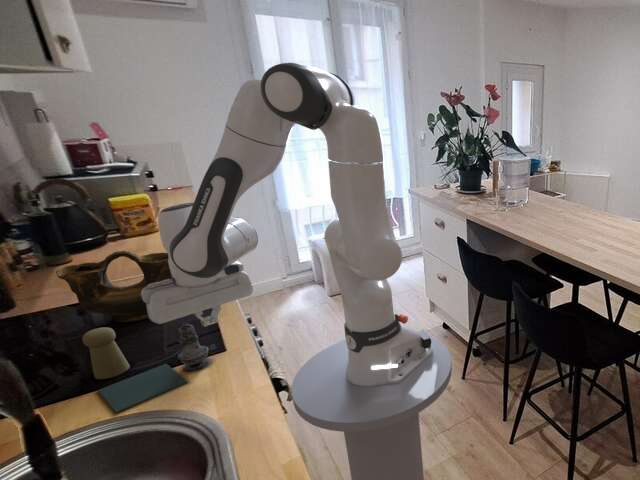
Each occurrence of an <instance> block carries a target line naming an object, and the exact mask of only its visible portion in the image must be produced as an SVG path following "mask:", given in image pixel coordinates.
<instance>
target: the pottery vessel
mask: <svg viewBox="0 0 640 480" xmlns="http://www.w3.org/2000/svg"><path fill="white" fill-rule="evenodd" d="M121 257H125V258H128V259H130V260H131V261H133V262H135V263H136V264H137V265H138V267H139V268H140V270H141V272H142V274H143V278H142V279H141V280H140V281H139V282H137V283H134V284H131V285H125V286H124V285H123V286H119V285H115V284H113V283H112V282H111V280H110V279H109V278H108V268H109V265H110V264H111V263H112V262H113V261H114V260H117V259H119V258H121ZM168 258H169V257H168V253H167V252H154V253H149V254H144V255H141V256H138V254H136V253H132V252H130V251H126V250H120V251H114V252H112V253H110V254H109V255H107V256H106V257H105V258H104V259H103V260H101V261H98V262H84V263H79V264H71V265H66V266H64V267H63V268H61V269H58V270H56V271H55V274H56V276H57V277H58V279H60V280H63V281H65V282H66V283H67V284H68V286H69V288H70V290H71V292H72V293H73V294H75V295H76V298H77V302H78V303H79V305H80V307H81V309H82V310H84V311H86V312H89V313H93V314H99V315H100V314H101V315H106V316H109V317H111V319H113V321H114V322H117V323H132V322H138V321H142V320H146V319H149V316H148V312H147V306H146V303H145V302H144V301H143V300H142V297H141V291H142V290H143V289H144V288H145V287H147V285H148V284H151V283H156V282H160V281H163V280H166V279H170V278H172V275H171V271H170V268H169V264H168ZM147 289H149V288H147Z"/></svg>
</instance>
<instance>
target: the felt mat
mask: <svg viewBox="0 0 640 480" xmlns="http://www.w3.org/2000/svg"><path fill="white" fill-rule="evenodd" d="M188 383H189V382H188V380H187V379H185V378H184V377H183V376H182V375H181V374H179V373H178V372H177V371H176V370H174V369H173V367H171V366H170V365H169V364H168V363H163V364H161V365H158V366H156V367H153V368H151V369H148V370H146V371H144V372H141V373H139V374H136V375H133V376H131V377H127V378H125V379H123V380H120V381H118V382H115V383H113V384H110V385H107V386H105V387H102V388H100V389H97V392H98V393H99V394H100V395H101V397H102V398H103V400H105V401H106V402H107V404H109V406H110V408H112V410H114V412H115V413H116V414H119V413H122V412H124V411H126V410H128V409H131V408H133V407H135V406H138V405H140V404H142V403H144V402H146V401H149V400H152V399H153V398H156V397H158V396H160V395H163V394H165V393H168V392H170V391H172V390H175V389H177V388H179V387H180V386H181V387H182V386H184V385H187V384H188Z"/></svg>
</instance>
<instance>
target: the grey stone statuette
mask: <svg viewBox="0 0 640 480" xmlns="http://www.w3.org/2000/svg"><path fill="white" fill-rule="evenodd" d="M177 330H178V334H179V338H180V340H179V343H180V344H181V346H182V351H181V352H180V353H178V354H177V359H178V360H179V361H180V362H181V363H182V364H183V367H182V371H184V372H185V373H192V372H197V371H200V370H202V369H205V368H207V367H208V366H209V365H210V364H211V363H212V362H211V359H209V358H207V357H208V354H209V347H208V346H205V345H200V342H199V338H200V337H199V335H197V334H196V329H195V327H194V325H193V324H190V323H187V322H185V321H184V322H182V325H181V326H180V327H179V328H178V329H177Z"/></svg>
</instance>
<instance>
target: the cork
mask: <svg viewBox="0 0 640 480" xmlns="http://www.w3.org/2000/svg"><path fill="white" fill-rule="evenodd" d="M116 336H117V335H116V332H115V330H114V329H113V328H111V327H105V326H104V327H98V328H94V329H93V328H92V329H91V330H88V331H87V332H85V333H84V334H83V336H82V338H81V339H82V343H83V345H85V347H87V348H88V349H89V354H90V361H91V366H92V367H91V368H92V372H93V378H94V379H96V380H107V379H110V378H114V377H117V376H120V375H121V374H124V373H125V372H127V371H128V370H129V369H130V367H131V365H130V363H129V362H128V360H127V358H126V357H125V355H124V354H123V352H122V350H121V349H120V347H119V346H118V344H117V343H116V341H115V339H116Z"/></svg>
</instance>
